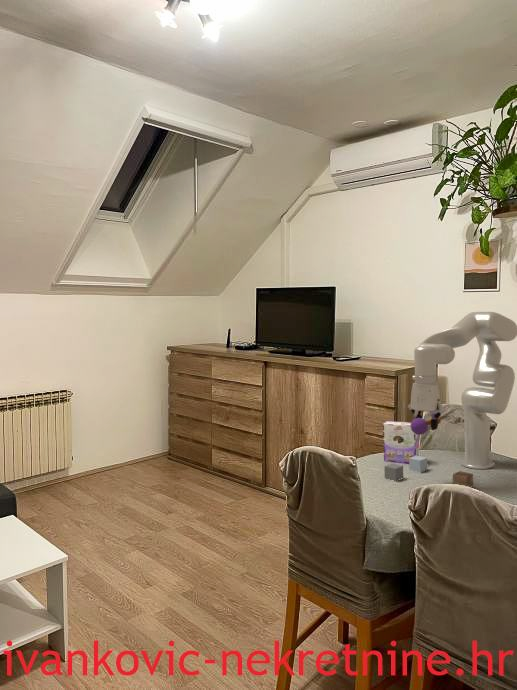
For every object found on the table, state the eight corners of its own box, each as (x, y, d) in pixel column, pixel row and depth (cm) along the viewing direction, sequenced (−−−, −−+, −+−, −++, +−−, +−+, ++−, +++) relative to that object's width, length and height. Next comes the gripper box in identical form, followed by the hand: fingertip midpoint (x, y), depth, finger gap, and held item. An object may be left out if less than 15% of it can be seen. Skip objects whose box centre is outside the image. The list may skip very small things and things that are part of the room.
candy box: (419, 461, 234) (418, 422, 233) (415, 464, 229) (415, 425, 228) (387, 457, 241) (386, 420, 240) (383, 461, 236) (382, 423, 235)
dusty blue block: (416, 467, 226) (416, 455, 225) (427, 470, 222) (427, 457, 222) (409, 470, 222) (409, 458, 222) (420, 473, 219) (420, 460, 218)
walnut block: (460, 484, 204) (460, 471, 203) (473, 487, 200) (473, 473, 200) (453, 487, 201) (452, 474, 200) (466, 490, 197) (466, 477, 196)
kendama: (445, 415, 211) (425, 421, 195) (442, 430, 212) (422, 437, 196) (430, 410, 215) (409, 416, 199) (427, 425, 215) (406, 432, 200)
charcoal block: (392, 475, 217) (392, 463, 216) (403, 478, 213) (403, 465, 212) (384, 479, 213) (384, 466, 213) (395, 481, 210) (395, 468, 209)
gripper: (399, 379, 208) (401, 426, 209) (441, 383, 195) (442, 433, 196) (411, 376, 213) (412, 423, 214) (452, 380, 200) (453, 429, 201)
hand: (426, 427), depth 205 cm, fingers closed on kendama, 5 cm apart
